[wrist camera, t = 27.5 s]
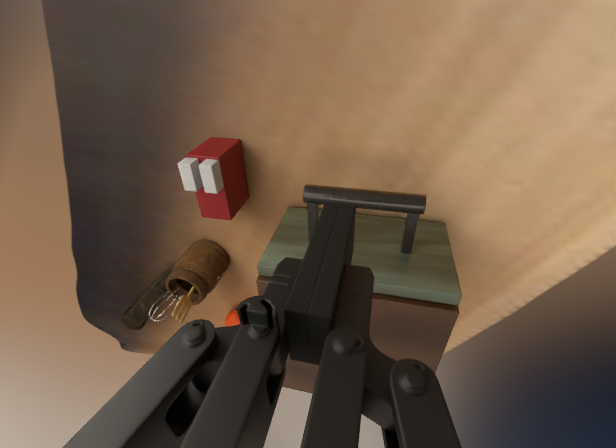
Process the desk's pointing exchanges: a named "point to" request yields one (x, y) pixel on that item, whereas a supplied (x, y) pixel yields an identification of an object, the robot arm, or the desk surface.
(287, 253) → the drawer
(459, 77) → the desk surface
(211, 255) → the utensil holder
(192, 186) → the red base white blocks
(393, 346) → the cabinet
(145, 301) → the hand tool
